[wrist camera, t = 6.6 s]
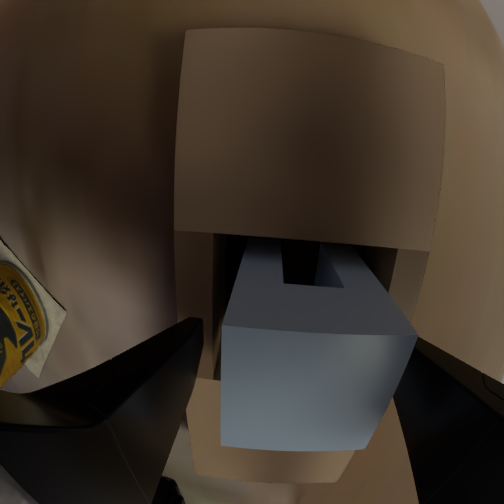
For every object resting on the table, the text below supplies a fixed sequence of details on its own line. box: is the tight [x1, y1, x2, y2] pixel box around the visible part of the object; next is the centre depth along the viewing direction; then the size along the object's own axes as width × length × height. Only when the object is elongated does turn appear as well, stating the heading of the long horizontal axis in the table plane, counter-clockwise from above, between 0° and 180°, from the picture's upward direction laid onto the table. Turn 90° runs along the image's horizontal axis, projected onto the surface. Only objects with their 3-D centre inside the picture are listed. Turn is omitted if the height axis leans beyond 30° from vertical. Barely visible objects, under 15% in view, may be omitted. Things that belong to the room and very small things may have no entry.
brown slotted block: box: [174, 28, 445, 483], centre depth 11 cm, size 8×20×3 cm, turn 177°
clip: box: [221, 236, 418, 451], centre depth 9 cm, size 4×4×7 cm
